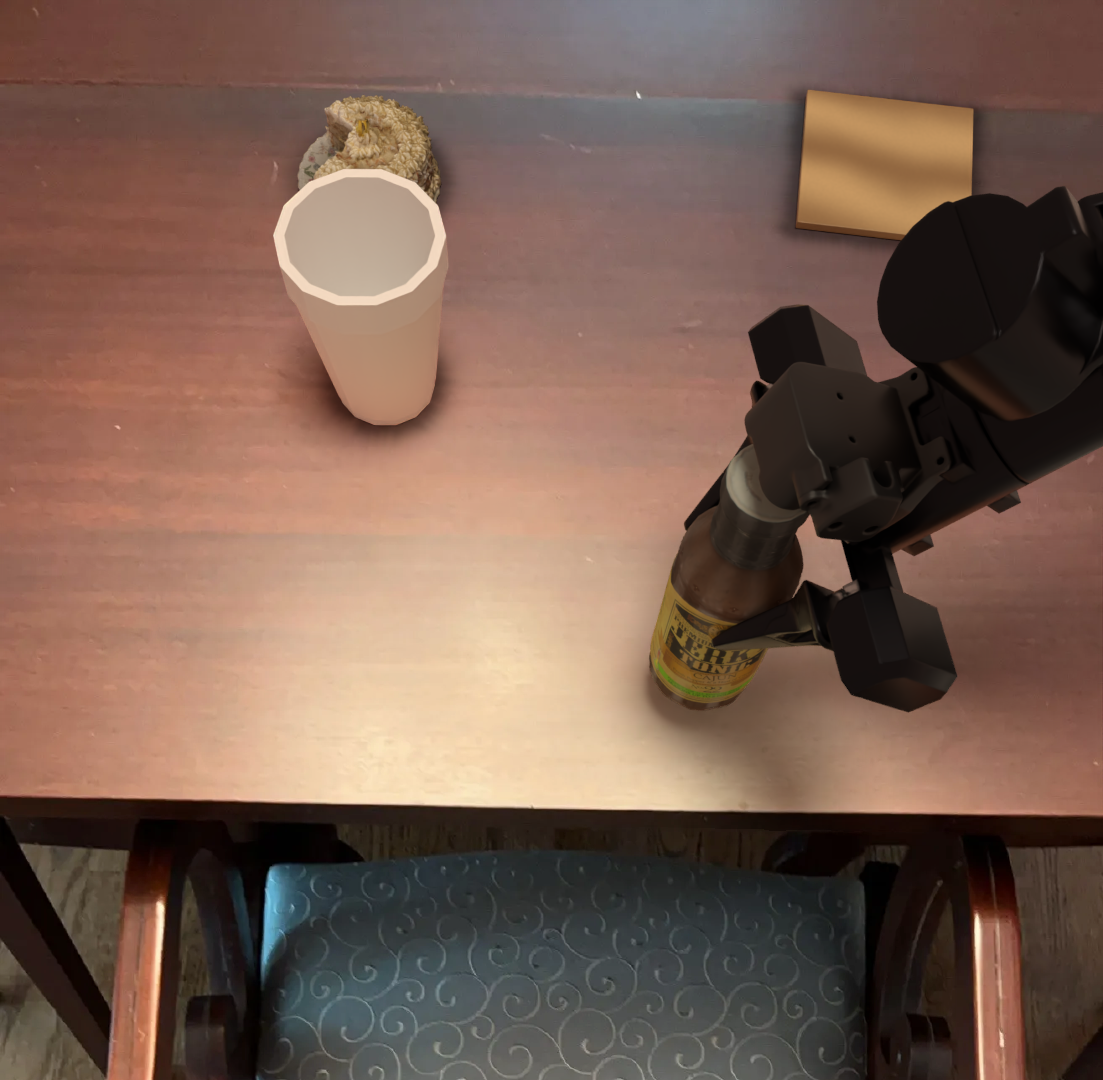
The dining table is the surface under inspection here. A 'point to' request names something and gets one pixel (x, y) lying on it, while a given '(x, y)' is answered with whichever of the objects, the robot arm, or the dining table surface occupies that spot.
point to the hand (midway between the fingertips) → (702, 586)
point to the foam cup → (368, 286)
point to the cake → (373, 143)
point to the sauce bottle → (724, 589)
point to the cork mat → (880, 163)
